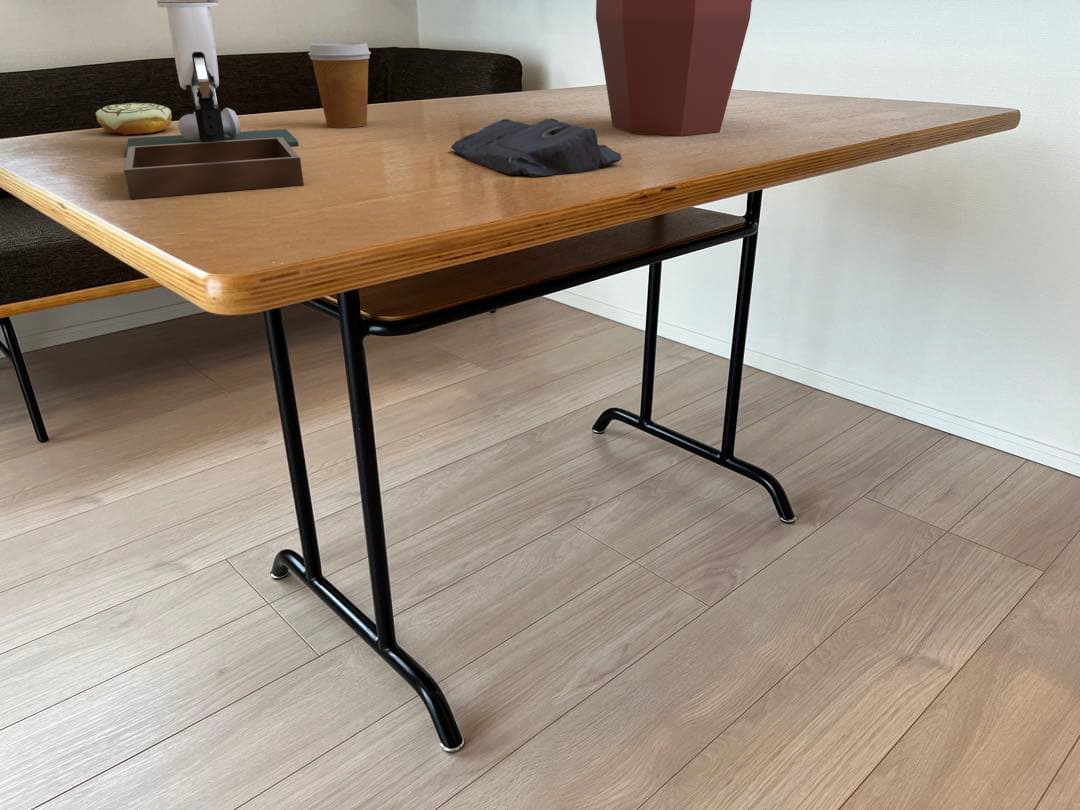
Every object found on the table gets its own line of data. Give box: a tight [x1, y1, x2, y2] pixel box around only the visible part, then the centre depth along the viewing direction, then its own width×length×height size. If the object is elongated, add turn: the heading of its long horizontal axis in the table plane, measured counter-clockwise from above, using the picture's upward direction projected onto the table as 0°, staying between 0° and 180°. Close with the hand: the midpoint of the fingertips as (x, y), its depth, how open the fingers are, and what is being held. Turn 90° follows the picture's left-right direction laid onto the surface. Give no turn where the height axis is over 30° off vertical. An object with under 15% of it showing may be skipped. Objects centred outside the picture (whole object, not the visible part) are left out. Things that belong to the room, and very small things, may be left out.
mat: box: [124, 128, 300, 158], centre depth 117 cm, size 22×13×1 cm, turn 112°
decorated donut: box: [95, 102, 173, 136], centre depth 128 cm, size 10×11×4 cm
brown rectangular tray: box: [123, 137, 304, 200], centre depth 95 cm, size 18×16×3 cm
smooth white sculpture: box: [177, 107, 241, 142], centre depth 115 cm, size 4×8×5 cm
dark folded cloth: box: [450, 117, 623, 178], centre depth 105 cm, size 15×22×5 cm
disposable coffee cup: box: [307, 41, 372, 129], centre depth 131 cm, size 10×10×12 cm
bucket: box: [595, 0, 753, 137], centre depth 123 cm, size 24×22×25 cm
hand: (210, 135), depth 116 cm, fingers open, 7 cm apart
